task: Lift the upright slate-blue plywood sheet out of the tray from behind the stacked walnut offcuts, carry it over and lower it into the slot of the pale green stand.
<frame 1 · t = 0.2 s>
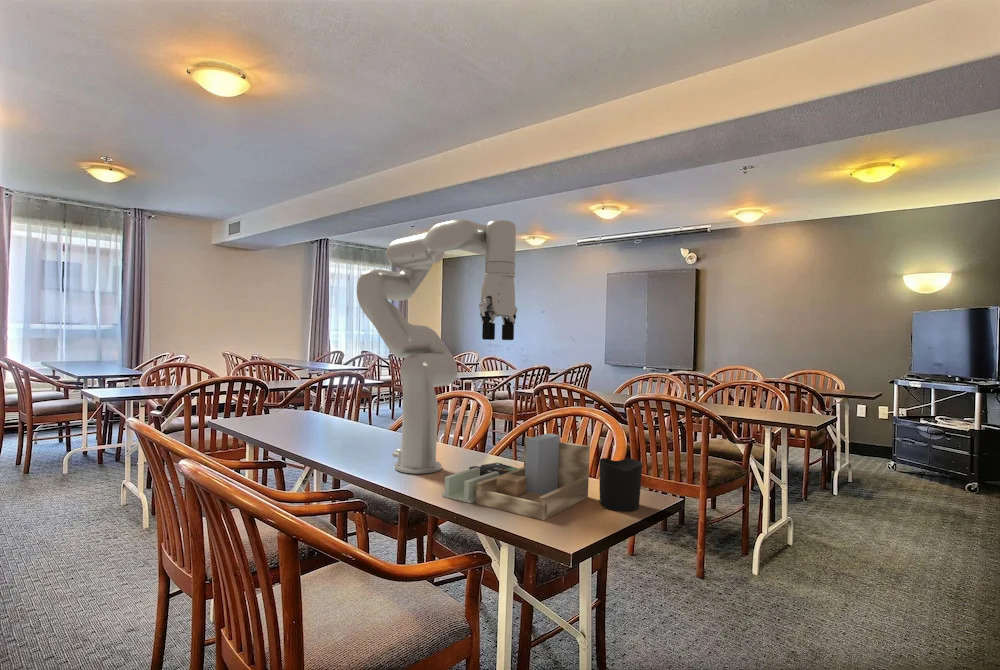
hand: (498, 339, 138), 36 cm above the table, tool pointing down, fingers open, 9 cm apart
pen holder: (619, 506, 125), on the table
offcut b: (511, 491, 123), point 3 cm above the table, touching offcut a
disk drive: (500, 480, 145), on the table
stand: (471, 494, 130), on the table
offcut c: (534, 510, 120), resting in tray
offcut a: (511, 504, 123), resting in tray, touching offcut b
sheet: (541, 496, 129), resting in tray
tray: (533, 500, 127), on the table
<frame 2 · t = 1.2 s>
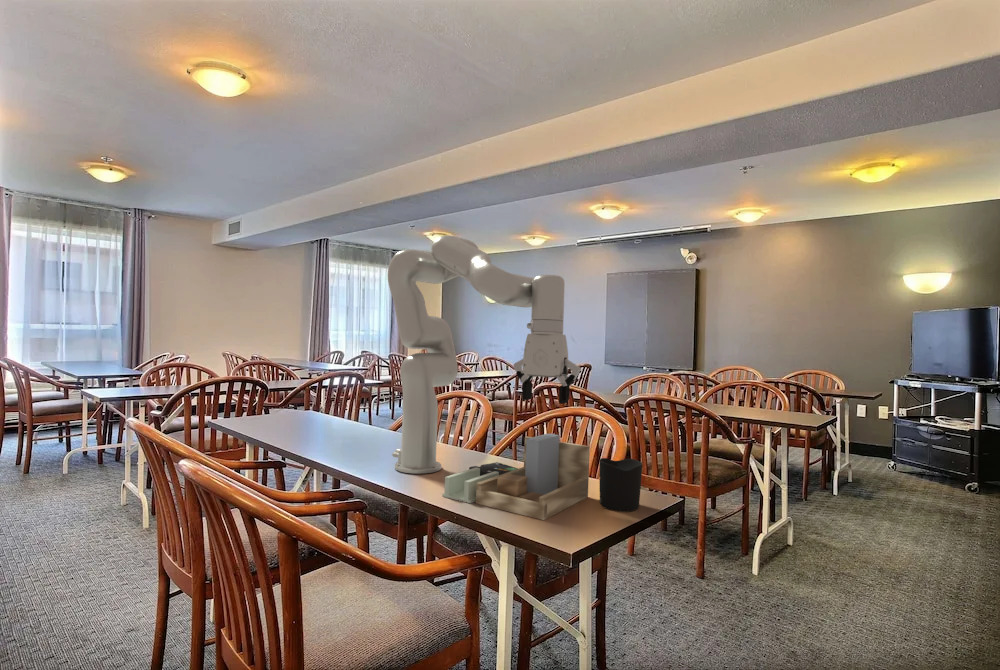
hand: (544, 401, 129), 22 cm above the table, tool pointing down, fingers open, 9 cm apart
nothing on the table moved.
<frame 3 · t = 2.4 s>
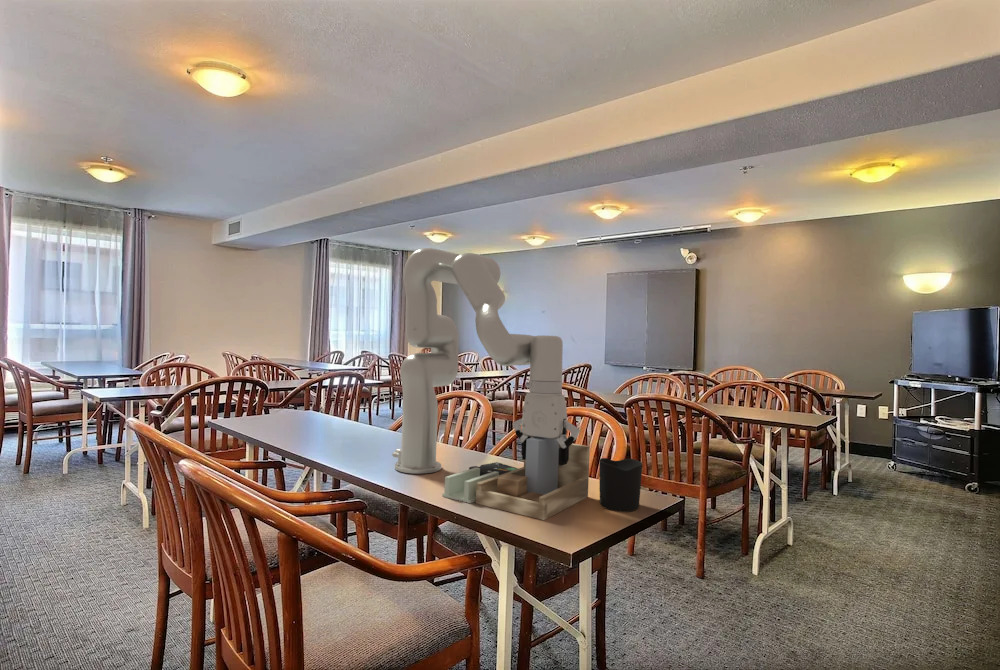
hand: (544, 461, 129), 8 cm above the table, tool pointing down, fingers open, 9 cm apart
nothing on the table moved.
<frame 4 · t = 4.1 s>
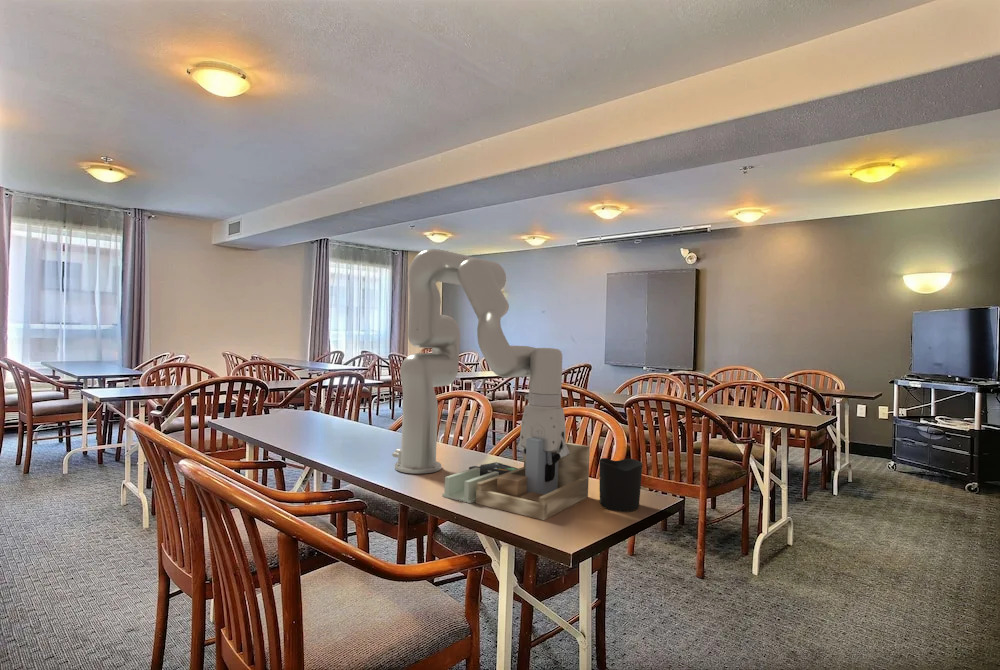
hand: (541, 478, 129), 4 cm above the table, tool pointing down, fingers closed on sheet, 3 cm apart
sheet: (541, 496, 129), resting in tray, touching gripper
everything else where it was.
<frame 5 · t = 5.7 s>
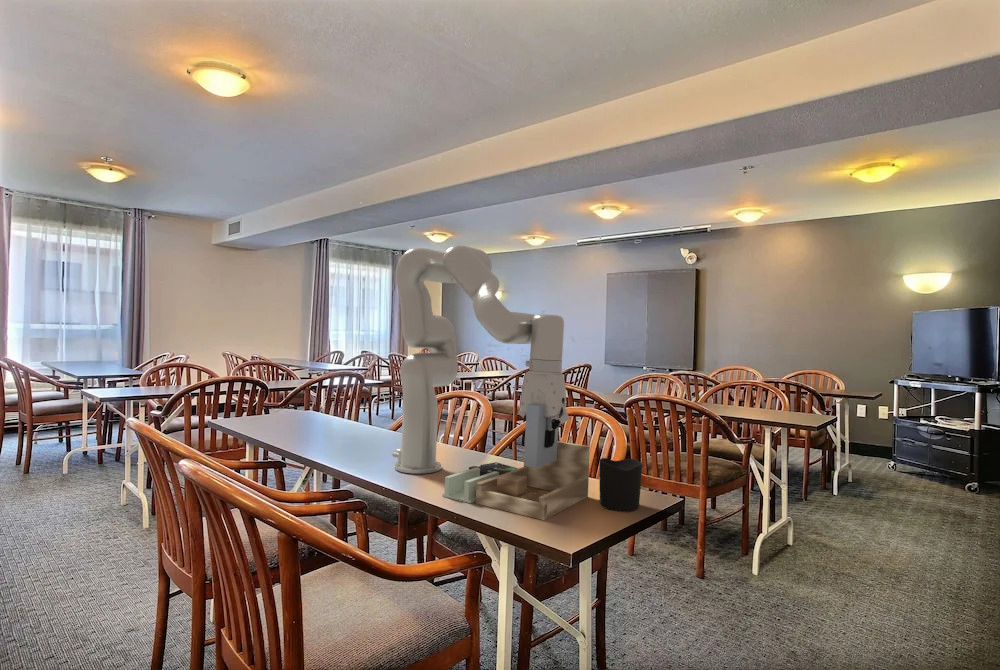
hand: (541, 444, 130), 12 cm above the table, tool pointing down, fingers closed on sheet, 3 cm apart
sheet: (540, 462, 130), point 8 cm above the table, touching gripper
everything else where it was.
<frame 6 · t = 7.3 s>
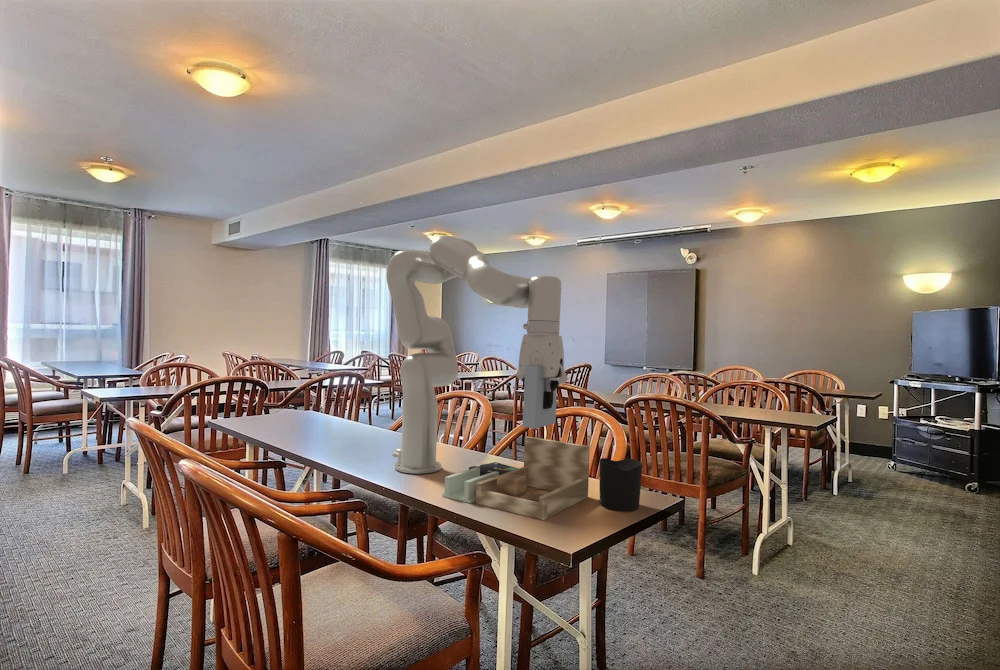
hand: (540, 406, 130), 21 cm above the table, tool pointing down, fingers closed on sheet, 3 cm apart
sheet: (539, 425, 130), point 17 cm above the table, touching gripper
everything else where it was.
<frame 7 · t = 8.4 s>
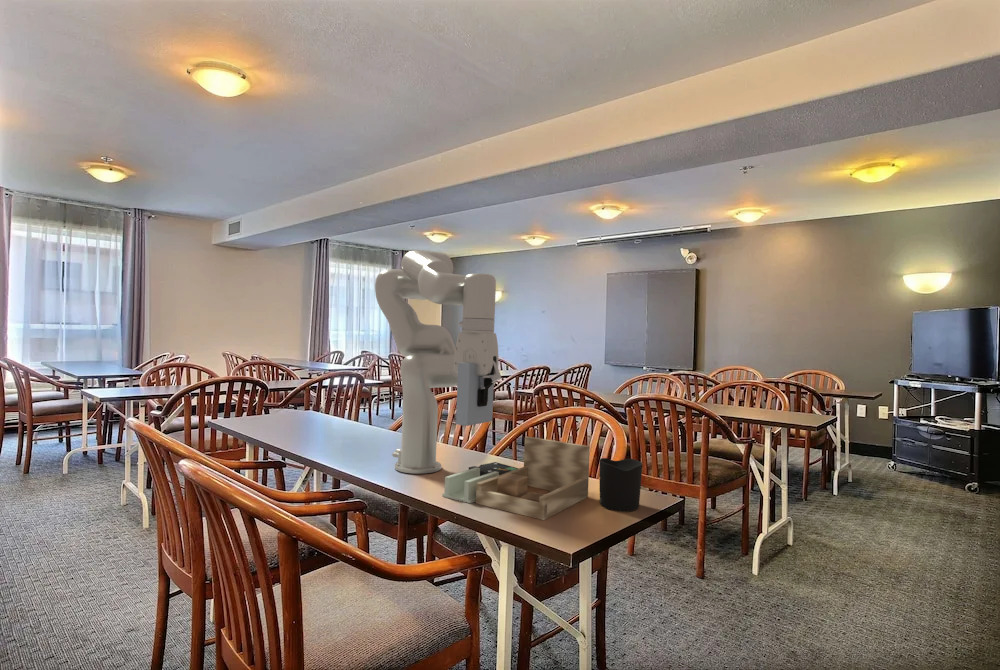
hand: (475, 404, 130), 21 cm above the table, tool pointing down, fingers closed on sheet, 3 cm apart
offcut b: (512, 490, 124), point 3 cm above the table
offcut a: (511, 504, 124), resting in tray
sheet: (474, 422, 130), point 17 cm above the table, touching gripper
everything else where it was.
when the fingers open (6 cm above the table, at t = 11.8 s): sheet stays where it is, resting on stand.
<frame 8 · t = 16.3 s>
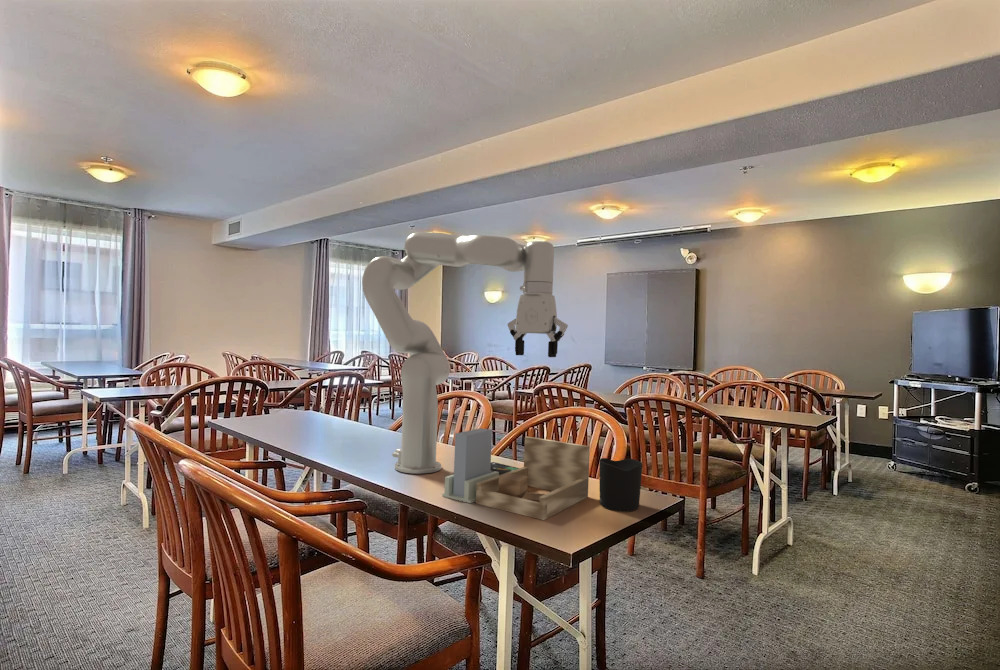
hand: (535, 356, 143), 32 cm above the table, tool pointing down, fingers open, 9 cm apart
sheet: (471, 491, 130), point 1 cm above the table, touching stand
everything else where it was.
at the end: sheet 0.1 cm off-centre on the stand, point 0.6 cm above the stand's base; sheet tilted 0°; the gripper is holding nothing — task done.
